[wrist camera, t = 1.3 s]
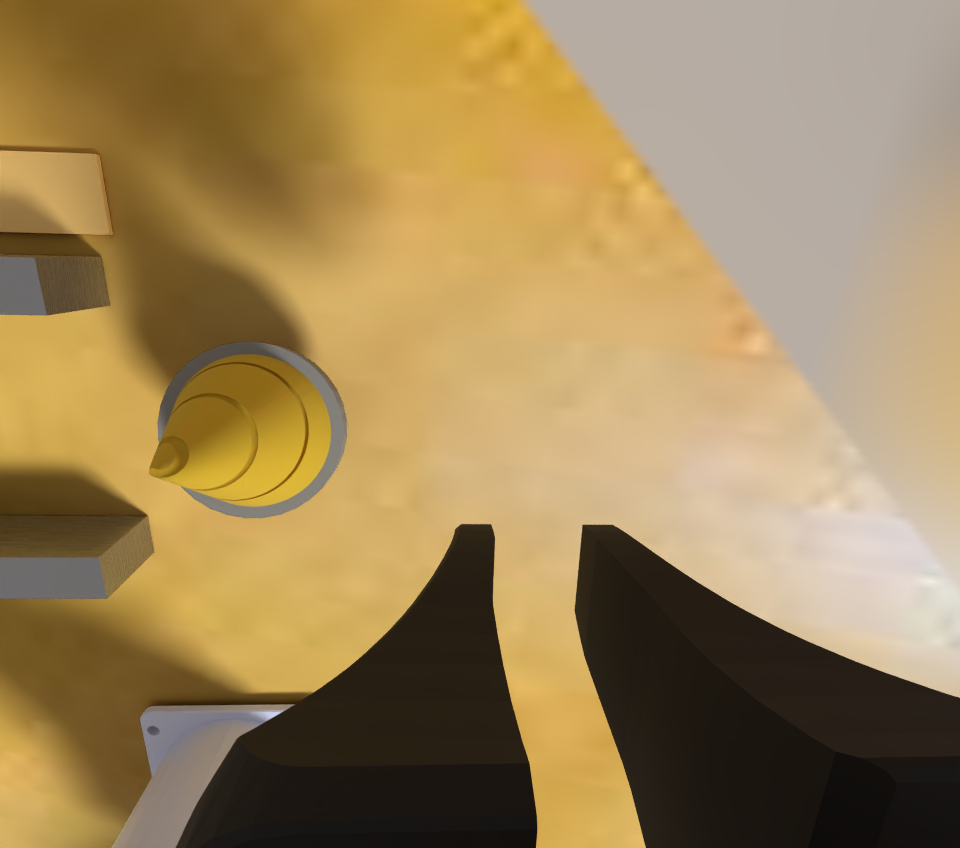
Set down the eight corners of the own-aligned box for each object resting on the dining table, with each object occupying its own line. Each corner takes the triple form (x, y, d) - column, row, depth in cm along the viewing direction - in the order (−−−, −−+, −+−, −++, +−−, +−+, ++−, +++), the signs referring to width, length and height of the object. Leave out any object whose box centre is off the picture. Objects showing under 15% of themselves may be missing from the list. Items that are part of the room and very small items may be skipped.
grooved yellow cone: (189, 466, 20) (-38, 568, 10) (229, 326, 19) (36, 285, 10) (333, 507, 21) (255, 638, 11) (374, 372, 20) (335, 379, 10)
